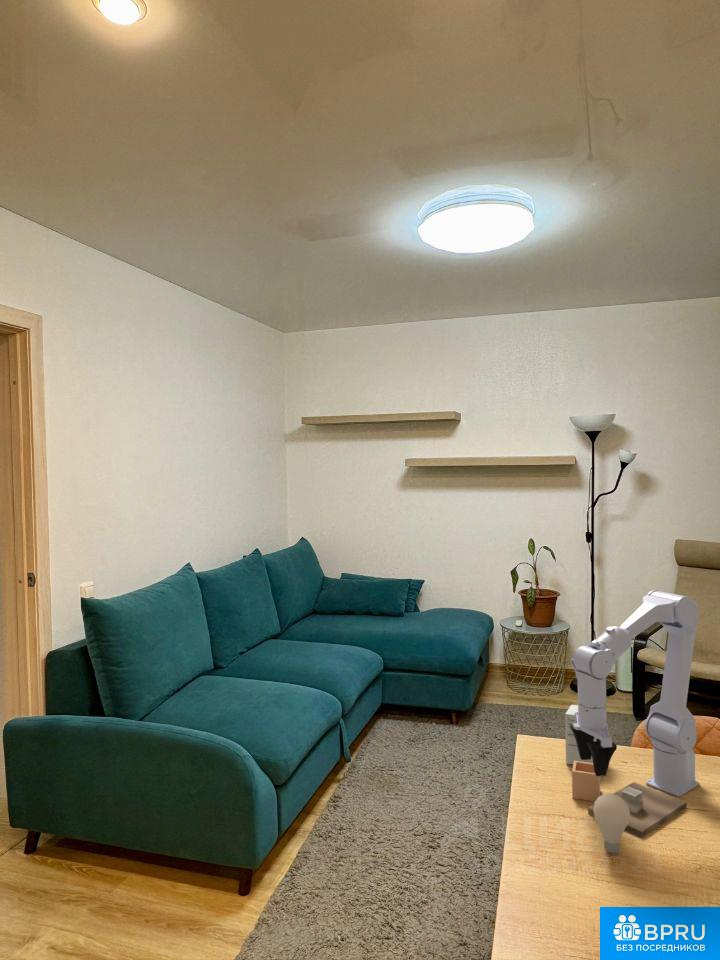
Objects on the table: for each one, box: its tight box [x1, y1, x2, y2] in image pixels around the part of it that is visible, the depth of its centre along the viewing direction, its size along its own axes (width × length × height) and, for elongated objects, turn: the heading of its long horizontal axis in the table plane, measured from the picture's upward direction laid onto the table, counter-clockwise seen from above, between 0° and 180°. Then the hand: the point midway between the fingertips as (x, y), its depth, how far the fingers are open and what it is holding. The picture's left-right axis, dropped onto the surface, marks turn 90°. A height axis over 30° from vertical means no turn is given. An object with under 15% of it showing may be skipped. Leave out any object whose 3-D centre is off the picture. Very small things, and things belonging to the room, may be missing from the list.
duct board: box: [587, 781, 688, 838], centre depth 142 cm, size 18×12×5 cm, turn 128°
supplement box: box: [564, 704, 597, 765], centre depth 166 cm, size 7×7×13 cm
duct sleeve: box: [571, 761, 601, 803], centre depth 150 cm, size 6×6×6 cm
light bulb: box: [593, 792, 630, 854], centre depth 127 cm, size 7×7×11 cm
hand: (592, 767), depth 143 cm, fingers open, 7 cm apart
